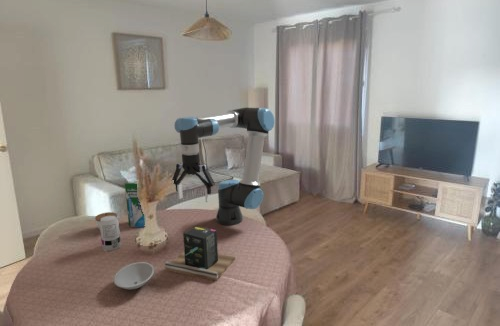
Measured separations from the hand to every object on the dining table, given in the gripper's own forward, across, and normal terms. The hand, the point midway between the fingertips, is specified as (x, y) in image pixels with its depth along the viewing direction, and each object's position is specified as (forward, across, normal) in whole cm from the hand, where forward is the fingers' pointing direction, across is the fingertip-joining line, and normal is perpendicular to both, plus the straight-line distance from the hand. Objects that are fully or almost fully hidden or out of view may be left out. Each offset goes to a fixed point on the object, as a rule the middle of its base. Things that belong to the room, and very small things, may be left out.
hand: (194, 199), depth 148 cm
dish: (+25, -10, -32) cm, 42 cm away
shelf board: (+25, +7, -10) cm, 28 cm away
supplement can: (+25, -41, -9) cm, 49 cm away
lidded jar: (+25, -58, +8) cm, 64 cm away
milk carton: (+26, -46, +19) cm, 56 cm away
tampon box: (+24, +8, -11) cm, 28 cm away
